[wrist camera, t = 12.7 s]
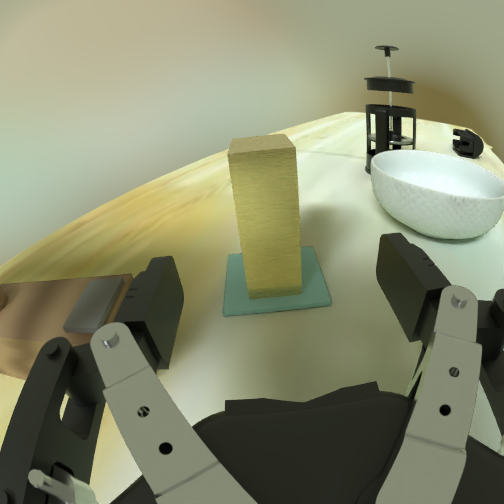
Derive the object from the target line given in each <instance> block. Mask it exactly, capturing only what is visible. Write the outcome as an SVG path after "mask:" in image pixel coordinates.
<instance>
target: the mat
mask: <svg viewBox="0 0 504 504" xmlns="http://www.w3.org/2000/svg"><path fill="white" fill-rule="evenodd" d="M301 283H302V294H301V295H292V296H282V297H273V298H263V299H252V300H249V295H248V289H247V282H246V276H245V269H244V263H243V256H242V253H240V254H230V255H229V256H228V266H227V276H226V286H225V297H224V307H223V314H224V316H230V315H243V314H254V313H265V312H275V311H285V310H294V309H303V308H311V307H320V306H327V305H331V299H330V296H329V293H328V290H327V287H326V284H325V281H324V278H323V275H322V273H321V270H320V267H319V264H318V261H317V258H316V256H315V253H314V250H313V247H312V246H309V247H301Z"/></svg>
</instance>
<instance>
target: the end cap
mask: <svg viewBox="0 0 504 504" xmlns="http://www.w3.org/2000/svg"><path fill="white" fill-rule="evenodd" d="M453 135H456V136H460V140H455V139H453V146H454V147H455V148H454V147H453V150H454V151H455V152H456V153H457V154H458V155H459V156H461V157H467V158H472V159H474V158H476V157H477V156H479V155H480V154H481V153H482V152H483V148H484V145H483V141H482V139H481V138H480V137H479V136H478V135H476V134H474V133H473V132H471V131H469V130H468V129H465V131H464V130H459V129H453Z"/></svg>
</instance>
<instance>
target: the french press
mask: <svg viewBox="0 0 504 504" xmlns="http://www.w3.org/2000/svg"><path fill="white" fill-rule="evenodd" d="M375 48H376V49H380V50H384V51H385V57H387V63H388V77H372V78H364V79H365V80H367V89H368V90H378V91H389V95H390V105H377V104H368V105H366V123H367V162H366V167H365V170H366V172H367V173H369V174H371V160H372V158H373V157H374V156H375V155H377V154H379V153H382V152H386V151H392V150H401V145H413V150H415V144H416V109H413V108H407V107H401V106H392V99H391V98H392V97H391V92H402V93H411V94H413V84H415V82H412V81H407V80H405V79H402V78H394V77H393V78H392V77H390V64H389V57H390V50H394V51H395V50H399V49H398V48H396V47H393V46H376V47H375ZM370 113H371V114H375V123H376V134H371V120H370ZM389 116H390V131H389ZM392 116H393V131H392ZM401 117H413V139H412V138H409V137H406V136H401ZM371 141H374V142H376V149H372V150H371ZM389 145H393V149H389Z"/></svg>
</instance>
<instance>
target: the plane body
mask: <svg viewBox="0 0 504 504" xmlns="http://www.w3.org/2000/svg"><path fill="white" fill-rule="evenodd" d="M132 281H133V277H132V274H123V275H111V276H100V277H88V278H76V279H64V280H52V281H39V282H26V283H13V284H2V285H0V373H2V374H5V375H9V376H13V377H16V378H20V379H24V380H26V379H27V377H28V375H29V372H30V370H31V368H32V366H33V364H34V361H35V359H36V357H37V355H38V353H39V351H40V349H41V348H42V346H43V345H44V344H45V343H46V342H47V341H49V340H51V339H53V338H55V337H65V338H67V339H68V340H69V342H70V343H71V345H72V346H73V347H74V346H78V345H82V344H86V343H90V342H91V339H92V336H93V335H94V333H95V332H96V331H97V330H98V329H100V328H101V327H103V326H104V325H107V324H109V323H113V321H114V318H115V316H116V314H117V312H118V310H119V308H120V305H121V303H122V301H123V299H124V298H125V295H126V293H127V291H129V290H128V289H129V287H130V285H131V283H132Z"/></svg>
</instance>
